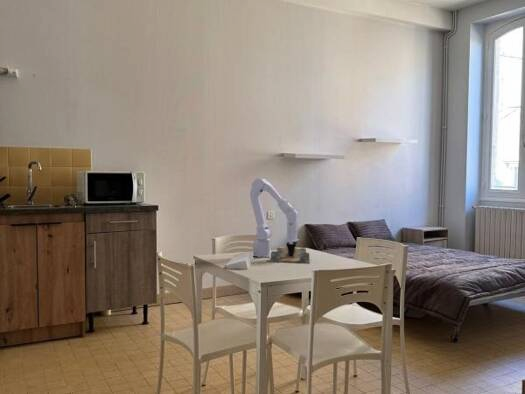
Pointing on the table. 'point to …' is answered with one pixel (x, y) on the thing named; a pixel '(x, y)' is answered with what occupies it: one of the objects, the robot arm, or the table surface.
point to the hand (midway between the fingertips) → (291, 255)
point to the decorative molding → (240, 261)
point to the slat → (286, 254)
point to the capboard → (276, 258)
